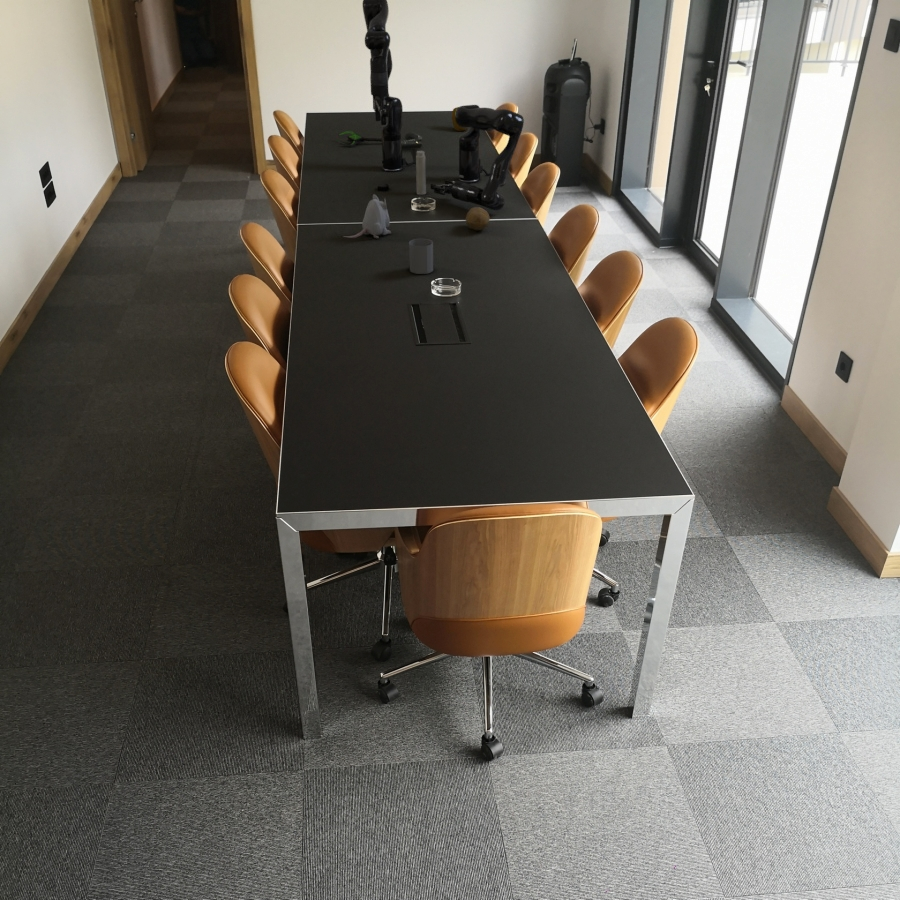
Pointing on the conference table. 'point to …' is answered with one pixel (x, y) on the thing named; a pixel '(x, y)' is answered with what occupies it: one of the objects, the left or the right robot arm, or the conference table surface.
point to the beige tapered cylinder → (421, 173)
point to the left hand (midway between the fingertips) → (380, 122)
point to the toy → (375, 219)
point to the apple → (456, 122)
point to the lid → (383, 187)
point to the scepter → (357, 139)
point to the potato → (477, 218)
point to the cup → (421, 256)
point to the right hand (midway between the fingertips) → (438, 184)
